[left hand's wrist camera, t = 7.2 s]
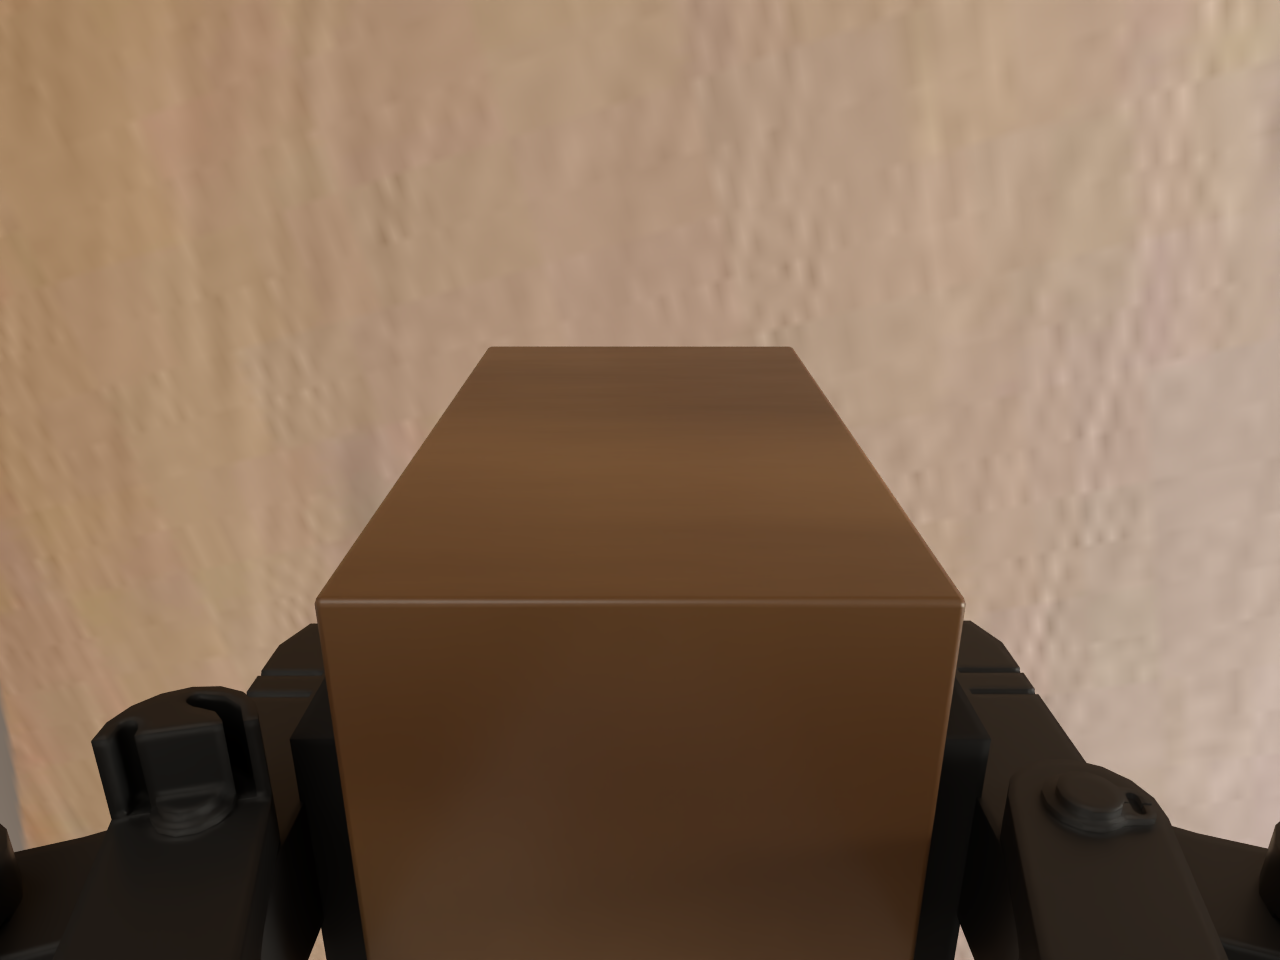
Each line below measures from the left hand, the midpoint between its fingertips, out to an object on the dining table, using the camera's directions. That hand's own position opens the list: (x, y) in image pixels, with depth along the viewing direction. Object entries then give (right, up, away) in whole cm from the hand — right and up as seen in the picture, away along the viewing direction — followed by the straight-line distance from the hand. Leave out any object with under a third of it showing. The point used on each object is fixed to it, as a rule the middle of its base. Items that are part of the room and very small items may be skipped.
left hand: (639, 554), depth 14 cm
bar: (0, -9, +4) cm, 10 cm away
